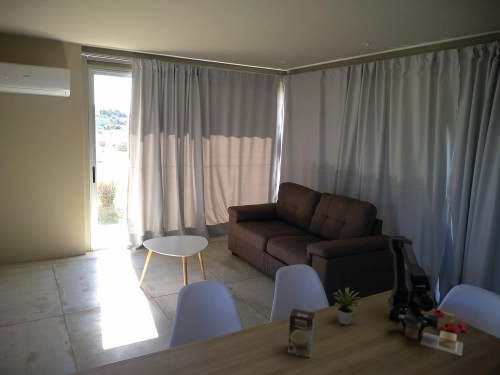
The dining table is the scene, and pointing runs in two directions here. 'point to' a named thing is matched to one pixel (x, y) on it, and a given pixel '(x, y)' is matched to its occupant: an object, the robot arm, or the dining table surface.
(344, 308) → the house plant
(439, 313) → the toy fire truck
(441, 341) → the oak base block
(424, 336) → the plate
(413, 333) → the walnut cube
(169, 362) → the dining table surface
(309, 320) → the coffee box
